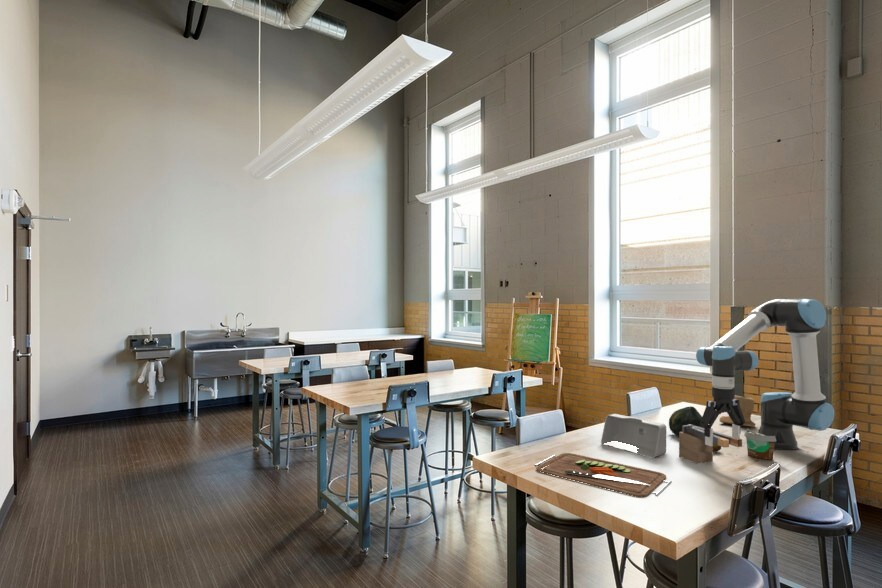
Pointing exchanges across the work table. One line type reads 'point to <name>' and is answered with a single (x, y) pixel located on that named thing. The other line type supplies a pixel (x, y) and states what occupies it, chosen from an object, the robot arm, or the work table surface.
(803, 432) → the work table surface
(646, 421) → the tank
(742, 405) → the brown upright flared piece
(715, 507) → the work table surface
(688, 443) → the tong rest
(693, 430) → the bar
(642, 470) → the chopping board
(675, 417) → the squash
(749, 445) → the food container
